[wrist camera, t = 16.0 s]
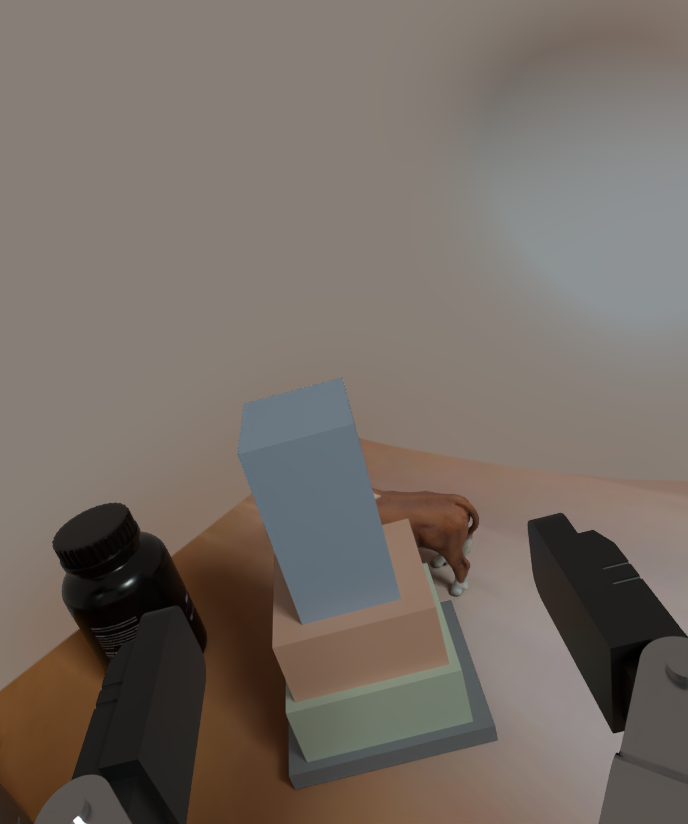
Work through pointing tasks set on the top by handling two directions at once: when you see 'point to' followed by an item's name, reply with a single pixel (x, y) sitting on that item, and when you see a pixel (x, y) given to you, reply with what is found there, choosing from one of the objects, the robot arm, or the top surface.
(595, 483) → the top surface
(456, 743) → the brick tower
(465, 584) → the bull figurine
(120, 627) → the supplement bottle
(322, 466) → the column brick
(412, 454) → the top surface
